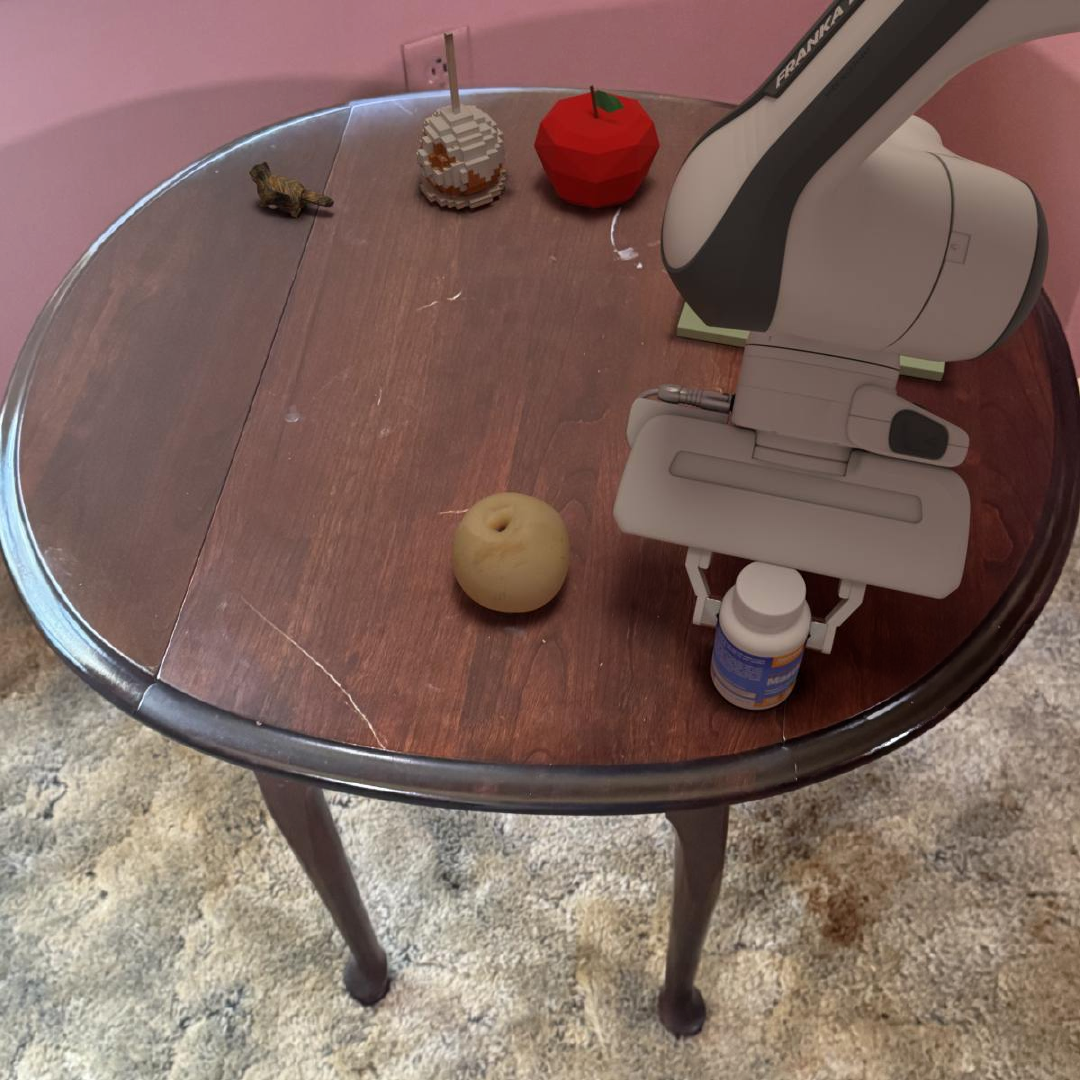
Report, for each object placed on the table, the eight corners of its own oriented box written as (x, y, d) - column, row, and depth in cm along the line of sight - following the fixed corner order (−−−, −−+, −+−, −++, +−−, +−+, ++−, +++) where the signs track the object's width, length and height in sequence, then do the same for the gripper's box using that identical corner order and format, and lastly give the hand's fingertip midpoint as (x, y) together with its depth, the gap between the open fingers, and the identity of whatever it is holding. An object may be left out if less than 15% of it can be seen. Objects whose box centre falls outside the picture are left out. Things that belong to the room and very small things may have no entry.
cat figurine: (257, 191, 104) (255, 154, 101) (338, 217, 104) (338, 182, 101) (244, 208, 103) (242, 172, 99) (326, 235, 102) (327, 200, 99)
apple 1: (589, 618, 74) (533, 587, 67) (486, 629, 77) (424, 600, 71) (592, 508, 76) (538, 468, 70) (492, 523, 80) (432, 487, 74)
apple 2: (515, 187, 104) (510, 88, 96) (597, 141, 108) (598, 42, 100) (594, 238, 99) (595, 137, 91) (677, 187, 103) (684, 87, 95)
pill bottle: (772, 727, 69) (795, 642, 61) (694, 687, 71) (707, 600, 63) (808, 663, 72) (835, 574, 64) (733, 626, 73) (750, 535, 66)
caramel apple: (409, 179, 105) (386, 25, 93) (482, 155, 107) (469, 0, 95) (444, 223, 101) (425, 67, 89) (520, 196, 103) (511, 40, 91)
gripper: (627, 375, 63) (583, 608, 66) (1000, 442, 59) (940, 689, 61) (642, 378, 70) (601, 592, 72) (981, 440, 65) (927, 664, 68)
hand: (761, 637), depth 67 cm, fingers closed on pill bottle, 5 cm apart
